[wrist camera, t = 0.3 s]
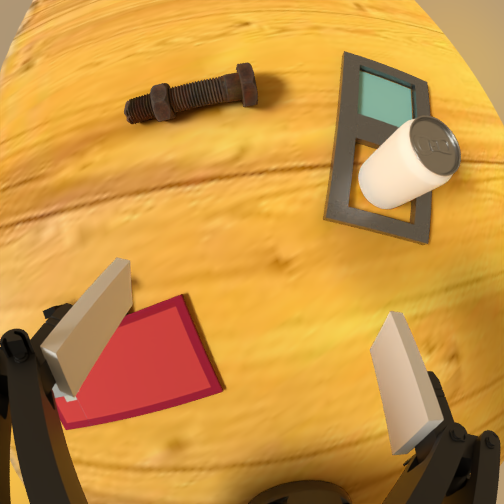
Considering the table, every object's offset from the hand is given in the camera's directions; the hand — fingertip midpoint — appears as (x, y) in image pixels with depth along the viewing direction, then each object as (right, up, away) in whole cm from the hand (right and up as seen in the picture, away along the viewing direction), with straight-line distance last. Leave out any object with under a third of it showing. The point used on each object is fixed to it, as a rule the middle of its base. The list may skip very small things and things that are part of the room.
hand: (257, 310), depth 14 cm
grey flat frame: (+16, +17, +19) cm, 30 cm away
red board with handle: (-20, -11, +16) cm, 28 cm away
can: (+15, +11, +18) cm, 26 cm away
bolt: (-7, +20, +19) cm, 29 cm away
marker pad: (+17, +23, +19) cm, 34 cm away
